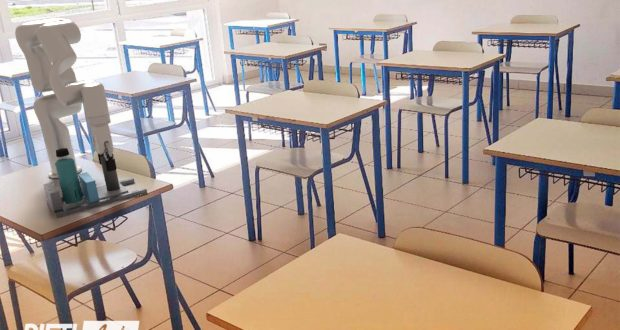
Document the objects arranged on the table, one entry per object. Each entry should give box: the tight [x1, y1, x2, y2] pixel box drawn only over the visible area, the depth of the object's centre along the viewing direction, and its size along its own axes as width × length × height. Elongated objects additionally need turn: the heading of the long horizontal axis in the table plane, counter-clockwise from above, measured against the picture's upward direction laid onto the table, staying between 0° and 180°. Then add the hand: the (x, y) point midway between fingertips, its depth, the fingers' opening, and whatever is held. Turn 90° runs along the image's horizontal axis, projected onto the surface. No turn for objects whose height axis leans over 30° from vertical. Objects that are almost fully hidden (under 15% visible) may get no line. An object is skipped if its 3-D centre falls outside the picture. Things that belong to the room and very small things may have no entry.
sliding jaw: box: [77, 155, 130, 203], centre depth 219 cm, size 12×13×14 cm
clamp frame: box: [43, 177, 148, 219], centre depth 219 cm, size 17×30×8 cm, turn 122°
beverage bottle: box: [55, 148, 84, 205], centre depth 213 cm, size 6×7×20 cm
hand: (108, 167), depth 220 cm, fingers open, 9 cm apart
